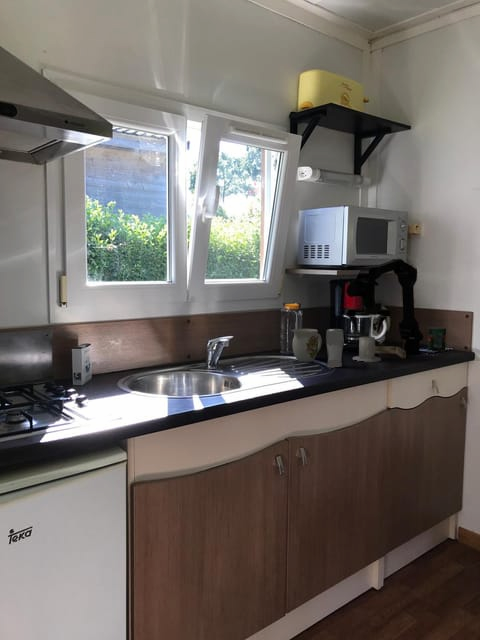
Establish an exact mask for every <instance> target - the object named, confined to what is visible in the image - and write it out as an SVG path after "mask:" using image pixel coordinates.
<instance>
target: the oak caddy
mask: <svg viewBox="0 0 480 640" xmlns="http://www.w3.org/2000/svg"><path fill="white" fill-rule="evenodd" d="M375 354H396V355H397V356H398V357H400V358H401V359H407V354H406V351H404V350H403V348H401V347H399V346H375Z"/></svg>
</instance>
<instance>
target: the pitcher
mask: <svg viewBox="0 0 480 640" xmlns="http://www.w3.org/2000/svg"><path fill="white" fill-rule="evenodd" d="M291 332H292V333H293V334H294V336H293V339H292V352H293V355H294V357H295V359H296V360H297V362H301V363H309V362H313V361H314V360H315V359H316V357H317V354H318V352H319V351H320V349H321V347H322V344H323V343H322V341H323V340H322V336H321V334H320V333H318V332H319V331H318V329H315V328H295V329H291Z"/></svg>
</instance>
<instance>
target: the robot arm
mask: <svg viewBox="0 0 480 640" xmlns="http://www.w3.org/2000/svg"><path fill="white" fill-rule="evenodd" d="M392 271H393V273H394V274H395V275H396V276H397V282H398V284H399V286H401V292H402V293H401V296H402V320H401V321H399V322H398V331H399V333H400V334H399V335H400V338H401V340H403V341H404V342H403V343H402V349H403V350H404V351H406V355H407V354H409V355H413V354H415V355H416V354H417V355H418V354H419V355H421V352H420V344H421V343H420V342H421V341H422V342H423V340H424V334H423V333H422V332H421V329H420V327H419V322H418V321H417V319H416V317H415V296H414V295H415V294H414V293H415V292H414V286H415V285H416V283H417V281H418V269H416V268H415V267H414V266H412V265H411V264H409V263H407V262H405V260H403V259H401V258H395V259H394V258H393V259H391V260H389V261H386V262H383V263H380V264H377V265H374V266H373V265H371V266H363V267H361V268H360V270H359V272H358V274H357V276H356V277H355V279H354V280H350V282H349V284H348V285H347V286H346V295H348V297H349V298H360V310H357V309H355V308H345V309H344V315H345V317H347V318H348V319H350V320H351V322H352V325H353V328H354V332H355V333H358V324H357V323H358V322H357V319H358V318H357V315H358V316H359V315H361V316H362V315H363V316H364V315H365V316H377V315H378V316H377V325H376V326H377V327H376V333H377V334H378V333H379V332H380V330H381V327H382V325H383V323H384V321H385V319H388V317H392V311H391V310H390V309H388V308H382V303H381V302H378V303H377V302H376V298H375V297H376V287H377V286H379V285H380V284H379V283H378V282H377V280H378V279H379V278H381V276H382V275H384V274H388V273H389V272H392Z"/></svg>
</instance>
